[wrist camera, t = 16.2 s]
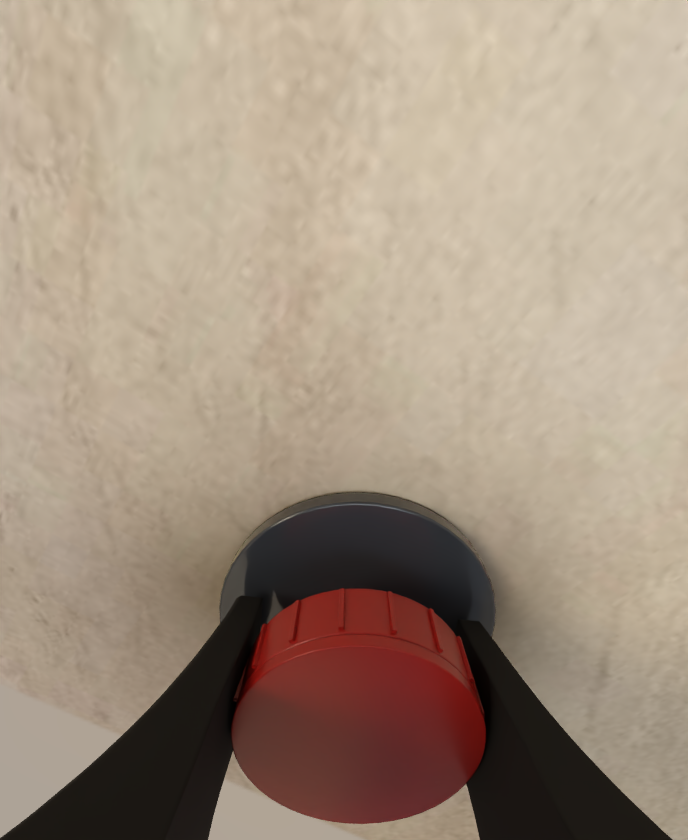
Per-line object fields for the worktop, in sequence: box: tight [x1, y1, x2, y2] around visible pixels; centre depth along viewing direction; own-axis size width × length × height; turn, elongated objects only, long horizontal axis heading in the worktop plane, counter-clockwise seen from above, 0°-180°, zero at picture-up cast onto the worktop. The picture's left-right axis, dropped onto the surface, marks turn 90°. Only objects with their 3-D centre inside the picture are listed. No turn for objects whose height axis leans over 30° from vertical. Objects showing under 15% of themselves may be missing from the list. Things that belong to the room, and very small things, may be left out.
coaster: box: [219, 492, 496, 637], centre depth 12 cm, size 8×8×1 cm
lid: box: [231, 588, 486, 824], centre depth 10 cm, size 6×6×2 cm
